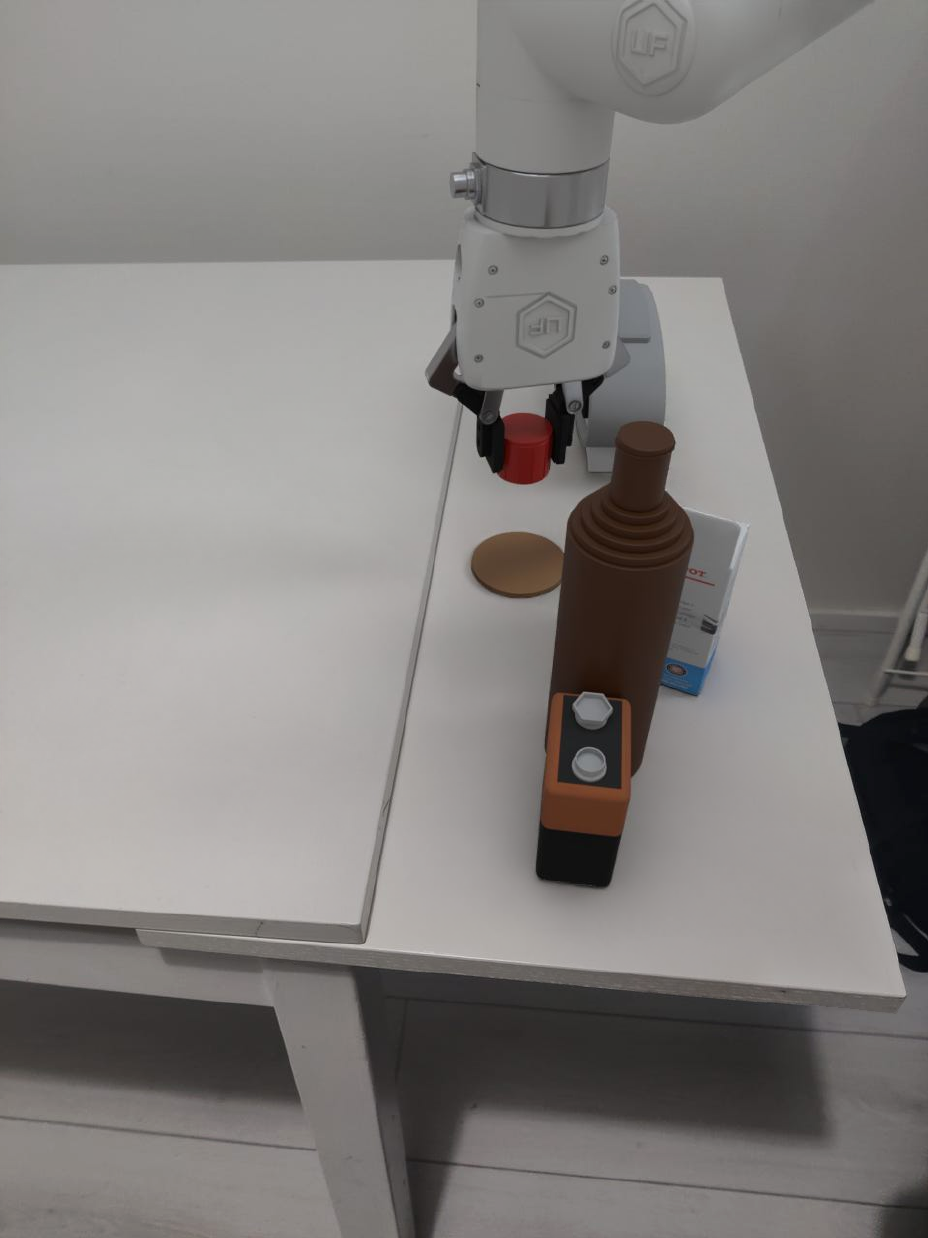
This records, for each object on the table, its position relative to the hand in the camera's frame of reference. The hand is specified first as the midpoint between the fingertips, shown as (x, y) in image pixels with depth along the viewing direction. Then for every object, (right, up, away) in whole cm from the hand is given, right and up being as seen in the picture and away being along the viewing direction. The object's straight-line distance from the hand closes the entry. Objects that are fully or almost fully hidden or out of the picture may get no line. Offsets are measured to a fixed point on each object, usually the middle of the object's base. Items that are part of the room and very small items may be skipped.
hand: (523, 455), depth 63 cm
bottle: (+4, -20, -6) cm, 21 cm away
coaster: (0, -7, +7) cm, 10 cm away
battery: (+2, -25, -10) cm, 27 cm away
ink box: (+9, -14, 0) cm, 17 cm away
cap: (0, -1, +1) cm, 1 cm away
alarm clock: (+10, +7, +23) cm, 26 cm away
